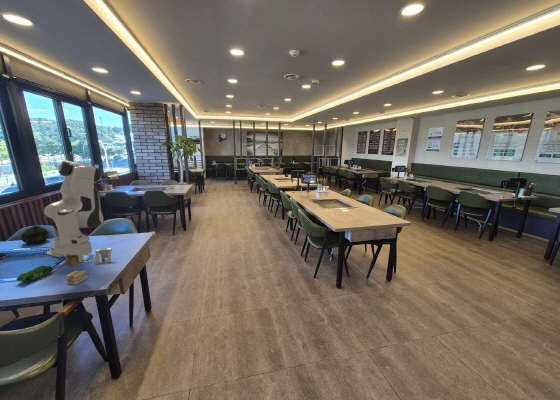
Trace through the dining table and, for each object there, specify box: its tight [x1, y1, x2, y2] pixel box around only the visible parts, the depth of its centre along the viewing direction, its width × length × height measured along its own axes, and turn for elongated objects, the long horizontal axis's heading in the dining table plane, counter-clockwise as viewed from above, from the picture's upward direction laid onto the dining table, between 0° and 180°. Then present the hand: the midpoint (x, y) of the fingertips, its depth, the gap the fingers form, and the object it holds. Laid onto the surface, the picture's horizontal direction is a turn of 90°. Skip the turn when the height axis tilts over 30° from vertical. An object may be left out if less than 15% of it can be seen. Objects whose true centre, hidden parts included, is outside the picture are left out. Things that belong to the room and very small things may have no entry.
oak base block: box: [65, 269, 88, 284], centre depth 129 cm, size 6×6×4 cm
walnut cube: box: [65, 255, 84, 267], centre depth 127 cm, size 5×5×5 cm
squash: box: [20, 225, 50, 244], centre depth 180 cm, size 14×15×15 cm
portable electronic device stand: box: [93, 248, 113, 265], centre depth 152 cm, size 9×8×8 cm
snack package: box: [16, 265, 53, 283], centre depth 131 cm, size 7×16×5 cm, turn 172°
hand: (75, 261), depth 128 cm, fingers closed on walnut cube, 5 cm apart
